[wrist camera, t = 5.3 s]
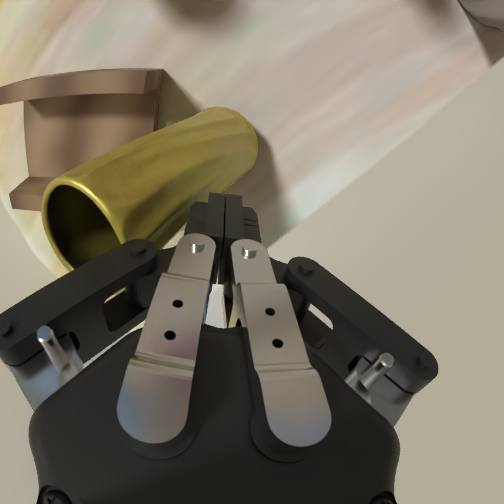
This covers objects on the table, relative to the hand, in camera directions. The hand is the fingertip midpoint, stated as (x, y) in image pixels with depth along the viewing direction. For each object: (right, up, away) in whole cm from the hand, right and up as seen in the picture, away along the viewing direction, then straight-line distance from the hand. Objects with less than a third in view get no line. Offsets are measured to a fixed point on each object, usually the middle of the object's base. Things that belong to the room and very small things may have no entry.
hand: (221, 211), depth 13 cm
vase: (-1, +6, +8) cm, 10 cm away
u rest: (-13, +8, +6) cm, 16 cm away
